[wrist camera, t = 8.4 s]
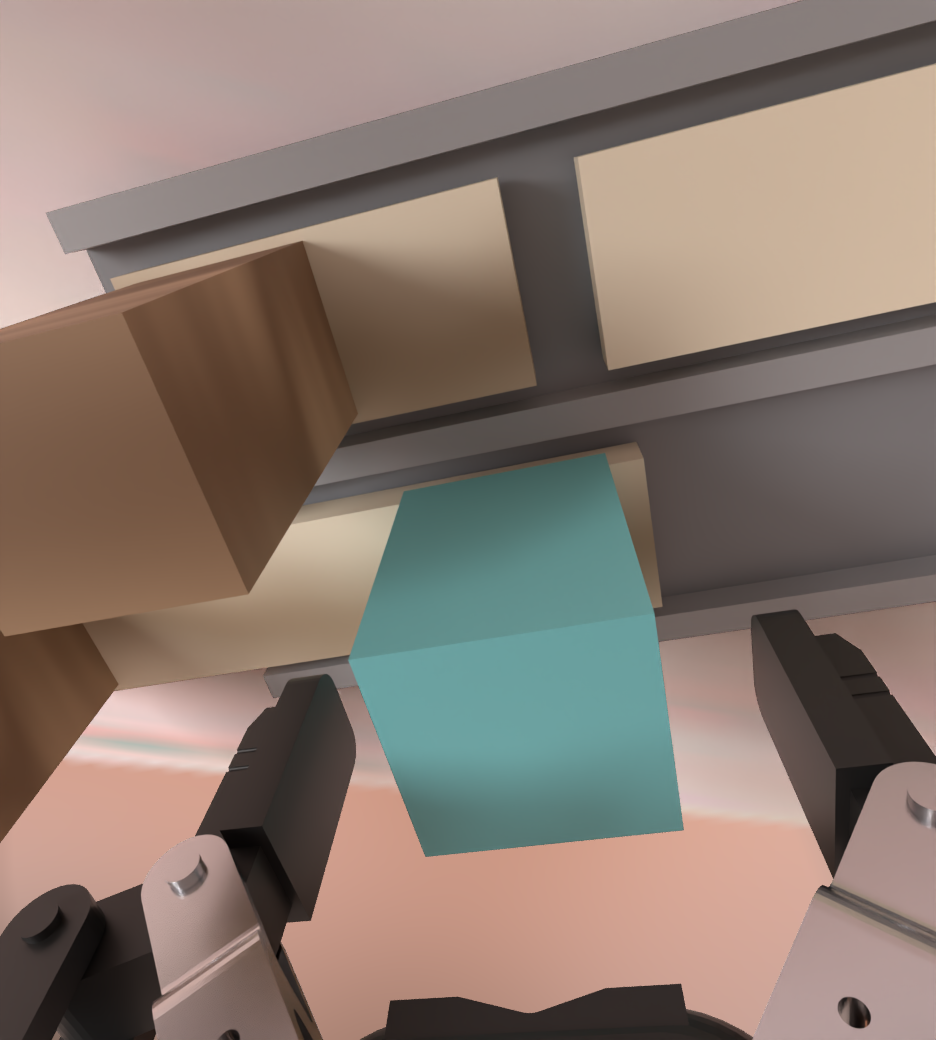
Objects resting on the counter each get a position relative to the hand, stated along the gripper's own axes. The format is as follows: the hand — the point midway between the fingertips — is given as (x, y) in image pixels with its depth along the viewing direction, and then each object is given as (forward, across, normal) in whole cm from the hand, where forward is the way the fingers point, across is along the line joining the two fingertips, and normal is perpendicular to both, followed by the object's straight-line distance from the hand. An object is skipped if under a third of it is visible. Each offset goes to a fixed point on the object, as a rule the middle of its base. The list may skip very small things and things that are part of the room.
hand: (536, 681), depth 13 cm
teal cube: (+4, 0, 0) cm, 4 cm away
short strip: (+5, +3, -7) cm, 9 cm away
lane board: (+6, -2, -4) cm, 8 cm away
